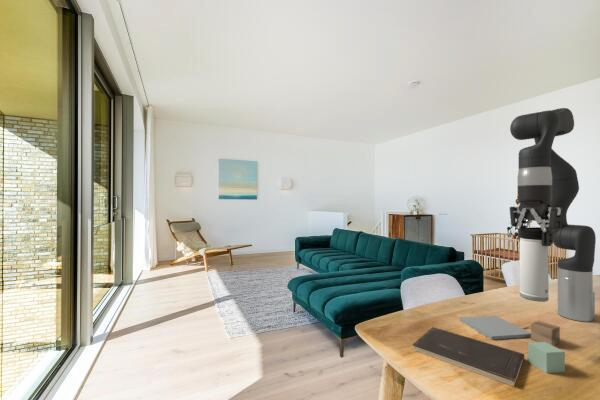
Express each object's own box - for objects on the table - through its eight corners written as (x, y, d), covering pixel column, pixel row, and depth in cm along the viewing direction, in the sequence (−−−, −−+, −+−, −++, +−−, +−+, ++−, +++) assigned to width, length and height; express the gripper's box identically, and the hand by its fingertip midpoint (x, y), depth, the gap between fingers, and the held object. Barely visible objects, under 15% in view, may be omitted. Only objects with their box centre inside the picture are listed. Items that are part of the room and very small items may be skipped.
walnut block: (539, 336, 89) (539, 320, 89) (559, 343, 84) (559, 326, 84) (530, 340, 87) (530, 323, 87) (551, 347, 82) (551, 330, 82)
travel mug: (555, 302, 77) (555, 228, 77) (527, 301, 78) (527, 227, 78) (541, 295, 83) (541, 225, 83) (515, 293, 84) (515, 225, 84)
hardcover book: (514, 390, 64) (514, 380, 64) (412, 352, 80) (412, 344, 80) (524, 361, 76) (524, 352, 76) (433, 333, 92) (433, 326, 92)
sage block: (545, 360, 75) (545, 341, 75) (564, 372, 70) (564, 351, 70) (527, 362, 75) (527, 342, 75) (546, 373, 70) (546, 352, 70)
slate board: (495, 318, 102) (495, 315, 102) (532, 337, 88) (532, 333, 88) (459, 320, 100) (459, 317, 100) (491, 339, 86) (491, 336, 86)
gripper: (573, 182, 74) (573, 248, 74) (522, 185, 88) (523, 240, 88) (548, 182, 73) (548, 248, 73) (501, 185, 87) (501, 240, 87)
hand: (534, 243), depth 81 cm, fingers closed on travel mug, 6 cm apart
